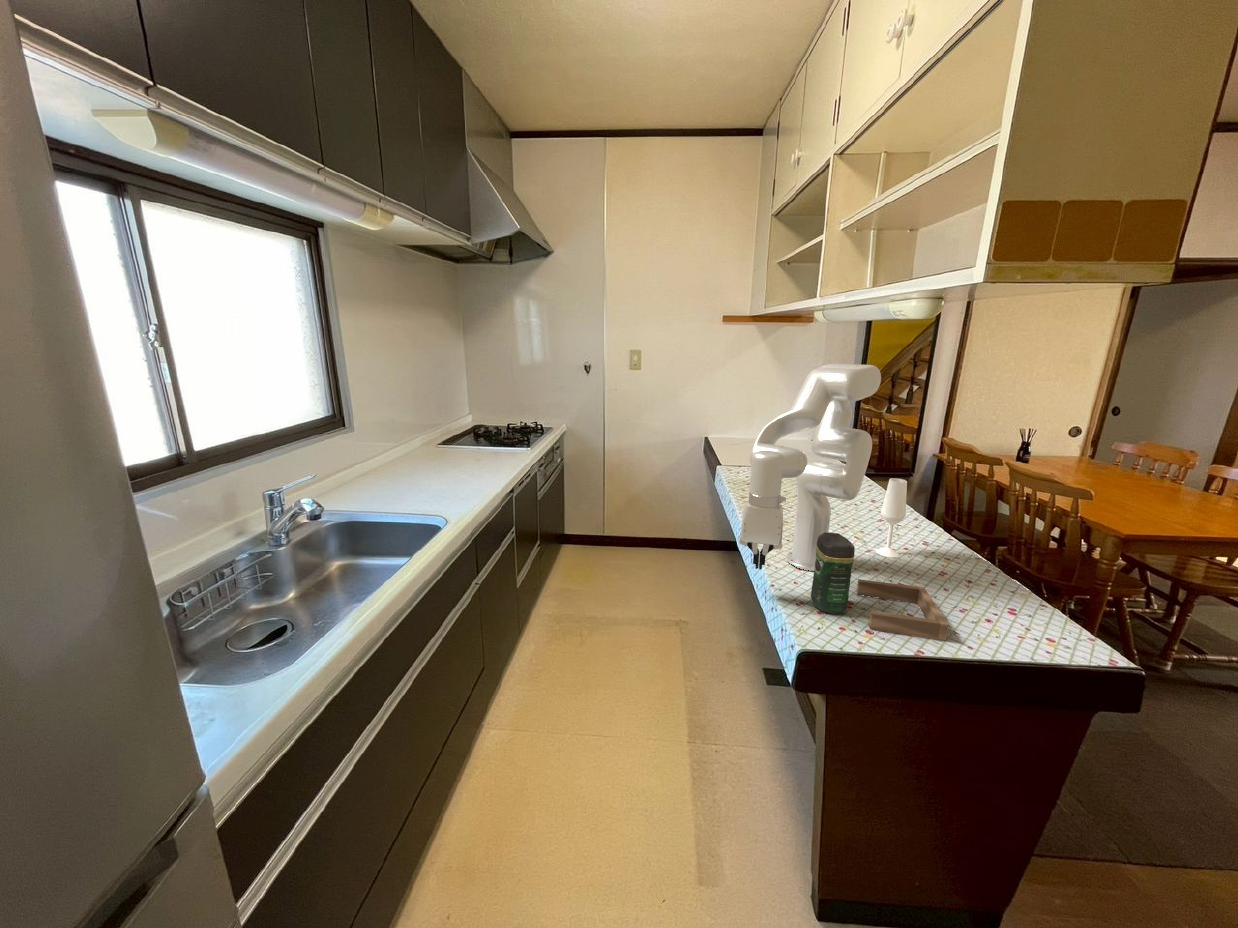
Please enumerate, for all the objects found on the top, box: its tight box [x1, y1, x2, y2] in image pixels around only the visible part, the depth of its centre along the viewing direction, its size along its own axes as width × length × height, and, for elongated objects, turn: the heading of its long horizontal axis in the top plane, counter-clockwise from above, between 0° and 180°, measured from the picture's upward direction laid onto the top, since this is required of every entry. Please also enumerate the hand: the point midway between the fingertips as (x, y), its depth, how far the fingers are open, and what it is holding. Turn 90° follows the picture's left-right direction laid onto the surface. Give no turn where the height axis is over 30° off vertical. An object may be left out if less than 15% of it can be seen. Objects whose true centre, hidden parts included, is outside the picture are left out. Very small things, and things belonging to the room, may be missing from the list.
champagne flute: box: [875, 477, 908, 558], centre depth 153 cm, size 7×7×24 cm
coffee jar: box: [810, 532, 856, 615], centre depth 123 cm, size 10×8×19 cm
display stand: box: [856, 578, 949, 641], centre depth 120 cm, size 18×16×4 cm
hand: (758, 566), depth 128 cm, fingers closed
